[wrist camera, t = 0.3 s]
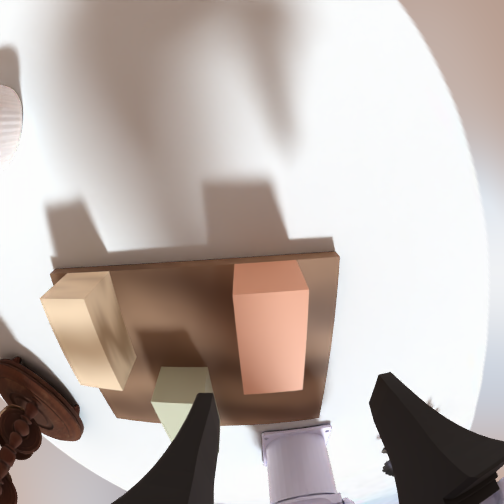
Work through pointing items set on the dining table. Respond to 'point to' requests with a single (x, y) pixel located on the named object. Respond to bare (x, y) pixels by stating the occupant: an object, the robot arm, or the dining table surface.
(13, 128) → the ramekin
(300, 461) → the robot arm
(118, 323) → the birch brick
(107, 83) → the dining table surface
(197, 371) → the sage green brick
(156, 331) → the walnut board
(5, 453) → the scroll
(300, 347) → the terracotta brick
